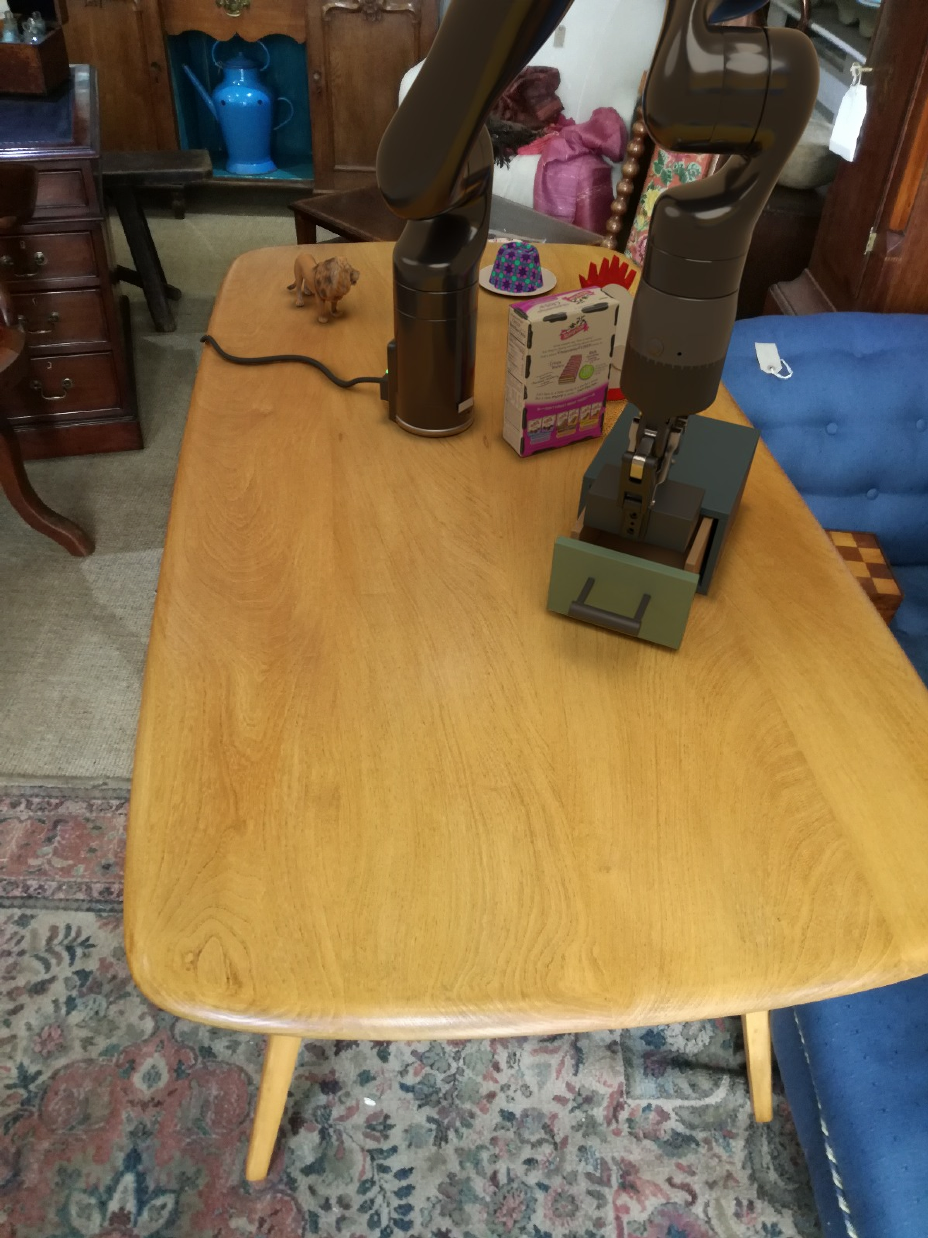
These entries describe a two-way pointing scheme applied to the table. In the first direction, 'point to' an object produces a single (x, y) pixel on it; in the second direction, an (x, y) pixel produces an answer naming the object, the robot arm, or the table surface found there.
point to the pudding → (517, 271)
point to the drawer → (628, 581)
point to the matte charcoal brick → (668, 515)
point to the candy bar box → (558, 369)
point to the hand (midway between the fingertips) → (640, 519)
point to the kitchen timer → (618, 288)
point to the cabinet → (694, 472)
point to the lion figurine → (323, 281)
